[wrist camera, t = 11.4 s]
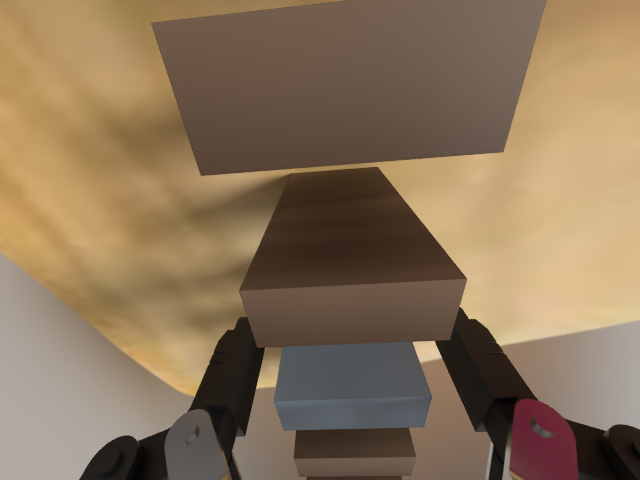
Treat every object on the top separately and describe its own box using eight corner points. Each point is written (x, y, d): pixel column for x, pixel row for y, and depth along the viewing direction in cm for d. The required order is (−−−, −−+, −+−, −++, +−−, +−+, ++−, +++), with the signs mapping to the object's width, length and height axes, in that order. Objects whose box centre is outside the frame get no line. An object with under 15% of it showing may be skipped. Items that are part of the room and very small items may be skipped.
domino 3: (300, 242, 16) (273, 401, 8) (374, 237, 16) (432, 396, 8) (303, 266, 17) (283, 430, 9) (373, 262, 17) (424, 427, 9)
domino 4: (307, 292, 19) (293, 458, 10) (373, 289, 18) (416, 457, 10) (310, 311, 20) (299, 476, 11) (372, 308, 19) (411, 475, 11)
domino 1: (278, 79, 12) (151, 22, 3) (381, 69, 12) (554, -24, 3) (284, 124, 13) (200, 175, 4) (379, 116, 13) (503, 152, 4)
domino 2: (291, 173, 14) (238, 291, 5) (377, 167, 14) (467, 279, 5) (295, 205, 15) (257, 347, 6) (376, 199, 15) (449, 340, 6)
